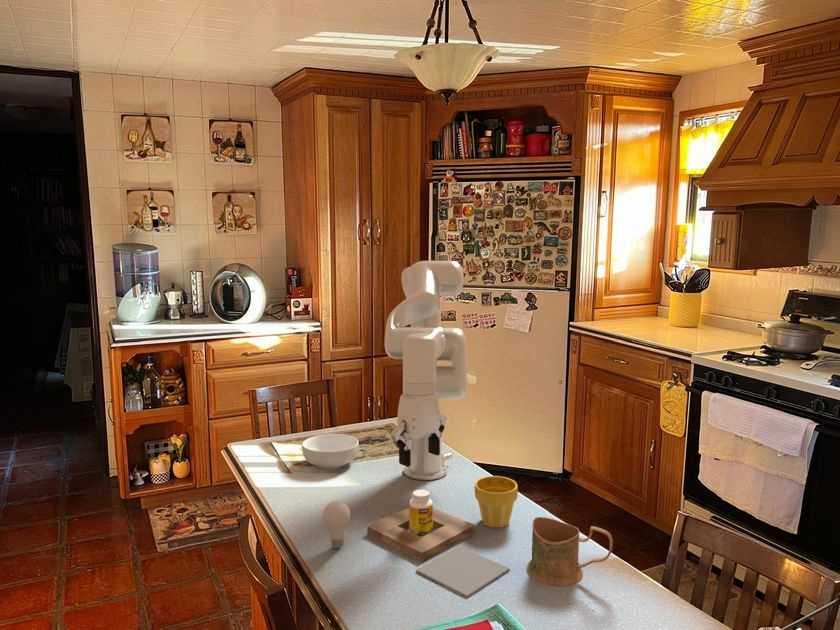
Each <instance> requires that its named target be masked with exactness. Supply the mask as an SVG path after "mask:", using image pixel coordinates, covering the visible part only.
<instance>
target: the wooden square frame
mask: <svg viewBox="0 0 840 630" xmlns="http://www.w3.org/2000/svg"><path fill="white" fill-rule="evenodd" d="M433 529H434V530H433V532H431V533H429V534H427V535H425V536H423V537H420V536H418V535H416V534H414V533H411V532H409V507H407V508H405V509H402V510H400V511H398V512H396V513H394V514H391V515H389V516H387V517H385V518H382V519H380V520H378V521H375V522H374V523H372V524H369V525H367V527H366V532H367V533H366V534H367V535H368V536H370V537H372V538H373V539H376V540H379V541H380V542H382V543H385V544H386V545H388V546H390V547H391V548H392V547H393V548H395V549H397V550H398V551H400V552H403V553H405V554H407V555H408V556H411V557H413V558H414V559H417V560H419V561H420V562H424V561H425V560H427V559H430V558H431V557H433V556H435V555H437V554H439V553H441V552H442V551H444V550H446V549H448V548H450V547H452V546H453V545H455V544H457V543H459V542H462V540H464V539H466V538H469V537H471V536H472V535H474V534H475V533H476V525H475V523H471V522H468V521H466V520H464V519H463V518H459V517H456V516H454V515H452V514H449V513H447V512H444V511H442V510H439V509H436V508H434V507H433Z"/></svg>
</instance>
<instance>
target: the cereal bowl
mask: <svg viewBox="0 0 840 630" xmlns="http://www.w3.org/2000/svg"><path fill="white" fill-rule="evenodd" d="M359 444H360V443H359V440H358V438H356V437H355V436H352V435H349V434H343V433H325V434H320V435H315V436H311V437H308V438H307V439H305V440H304V441H303V442H302V443H301V451H302V455H303V458H304V459H305V460H306V461H307V462H308V463H309V464H311V465H313V466H317V467H318V468H320V469H324V470H336V469H340V468H342V467H344V465H347V464H348V463H351V462H352V461H353V460H354V459H355V458H356V457H357V455H358V452H359V447H360V445H359Z"/></svg>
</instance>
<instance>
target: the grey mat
mask: <svg viewBox="0 0 840 630" xmlns="http://www.w3.org/2000/svg"><path fill="white" fill-rule="evenodd" d="M509 571H510V567H507V566H505V565H503V564H501V563H498V562H496V561H494V560H492V559H489V558H488V557H485V556H483V555H481V554H478V553H476V552H474V551H472V550H469V549H467V548H465V547H462V546H460V545H458V546H457V547H454V548H452V549H451V550H449V551H448V552H445V553H444V554H442V555H440V556H438V557H437V558H435V559H433V560H431V561H430V562H428V563H426V564H424V565H422V566H420V567H418V568H417V569H416V570H415V572H416V573H418V574H419V575H421V576H424V577H426V578H427V579H429V580H432V581H433V582H435V583H437V584H439V585H441V586H443V587H445V588H447V589H449V590H450V591H453V592H455V593H457V594H459V595H460V596H462V597H464V598H469V597H471V596H473V595H474V594H475V593H477V592H479V591H480V590H482V589H483V588H484V587H486V586H488V585H490V584H491V583H492V582H494V581H496V580H497V579H499V578H500V577H502V576H503V575H505V574H506V573H508V572H509Z"/></svg>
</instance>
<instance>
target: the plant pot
mask: <svg viewBox="0 0 840 630" xmlns="http://www.w3.org/2000/svg"><path fill="white" fill-rule="evenodd" d="M518 489H519V487H518V484H517V482H516V481H515V480H514V479H511V478H509V477H506V476H501V475H489V476H483V477H481V478H479V479H477V480H476V481H475V482H474V496H475V500H477V502H478V507H479V512H480V517H481V522H482V524H484V525H485V526H487V527H490V528H503V527H506V526H507V525H509V523H510V520H511V517H512V513H513V509H514V505H515V502H516V501H517V500H518V492H519V491H518Z"/></svg>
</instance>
